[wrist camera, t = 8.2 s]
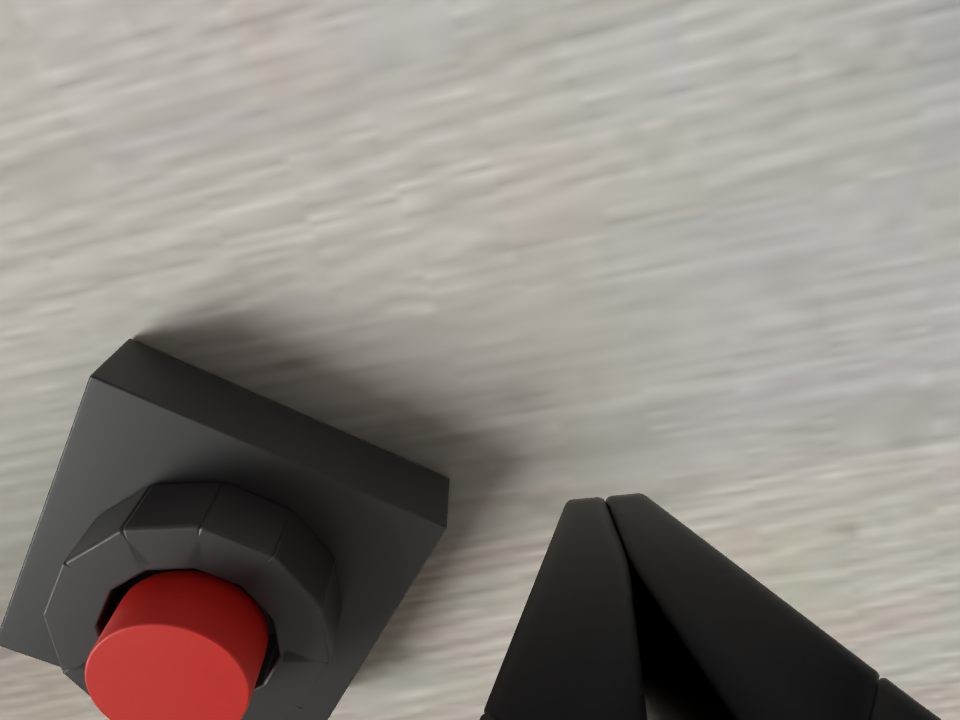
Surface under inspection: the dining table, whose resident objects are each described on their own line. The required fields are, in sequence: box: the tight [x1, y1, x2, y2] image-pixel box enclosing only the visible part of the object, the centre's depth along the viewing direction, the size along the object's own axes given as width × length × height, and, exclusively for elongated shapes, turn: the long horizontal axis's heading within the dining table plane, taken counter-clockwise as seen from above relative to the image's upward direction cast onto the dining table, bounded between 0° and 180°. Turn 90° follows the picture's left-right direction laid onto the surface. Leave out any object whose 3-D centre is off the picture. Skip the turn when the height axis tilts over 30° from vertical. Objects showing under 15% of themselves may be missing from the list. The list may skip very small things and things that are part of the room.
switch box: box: [0, 339, 449, 720], centre depth 20 cm, size 9×9×4 cm
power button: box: [85, 570, 269, 720], centre depth 18 cm, size 4×4×2 cm
